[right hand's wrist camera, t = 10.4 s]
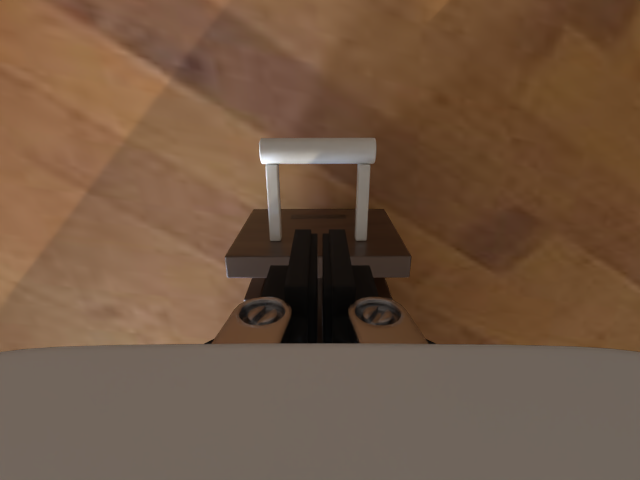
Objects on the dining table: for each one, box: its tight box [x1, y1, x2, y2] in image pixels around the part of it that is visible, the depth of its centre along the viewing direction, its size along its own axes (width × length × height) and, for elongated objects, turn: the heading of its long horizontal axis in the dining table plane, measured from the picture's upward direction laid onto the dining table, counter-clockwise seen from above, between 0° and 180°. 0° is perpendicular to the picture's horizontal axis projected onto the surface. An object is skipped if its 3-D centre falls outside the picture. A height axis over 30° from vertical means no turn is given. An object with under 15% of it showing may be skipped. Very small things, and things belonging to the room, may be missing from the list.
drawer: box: [225, 138, 411, 344], centre depth 23 cm, size 22×9×8 cm, turn 0°
